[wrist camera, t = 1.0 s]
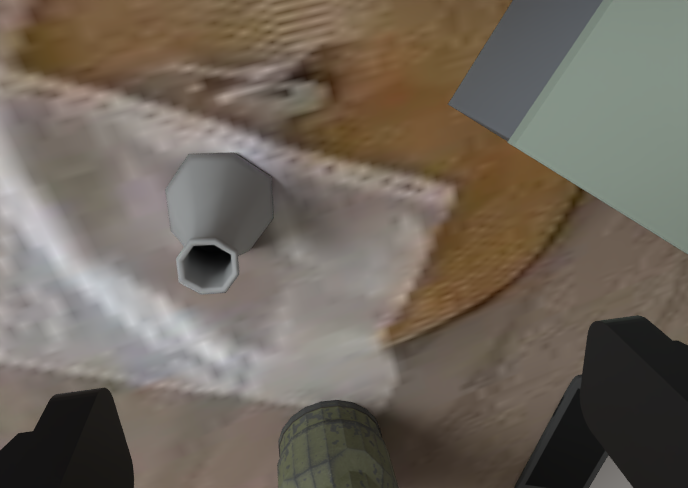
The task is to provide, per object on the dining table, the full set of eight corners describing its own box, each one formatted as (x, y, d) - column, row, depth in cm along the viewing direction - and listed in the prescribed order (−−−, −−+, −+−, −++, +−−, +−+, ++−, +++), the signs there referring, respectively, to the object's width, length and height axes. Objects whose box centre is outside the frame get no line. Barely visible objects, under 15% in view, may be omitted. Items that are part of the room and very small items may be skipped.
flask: (288, 166, 37) (297, 221, 28) (259, 262, 39) (258, 340, 30) (177, 135, 35) (148, 182, 26) (154, 237, 38) (120, 313, 29)
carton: (601, -143, 32) (736, -198, 23) (772, 9, 37) (938, 13, 28) (447, 104, 37) (509, 138, 28) (618, 210, 42) (717, 268, 33)
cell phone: (509, 489, 53) (512, 496, 52) (573, 370, 48) (577, 375, 47) (575, 498, 54) (579, 504, 54) (643, 383, 50) (648, 389, 49)
